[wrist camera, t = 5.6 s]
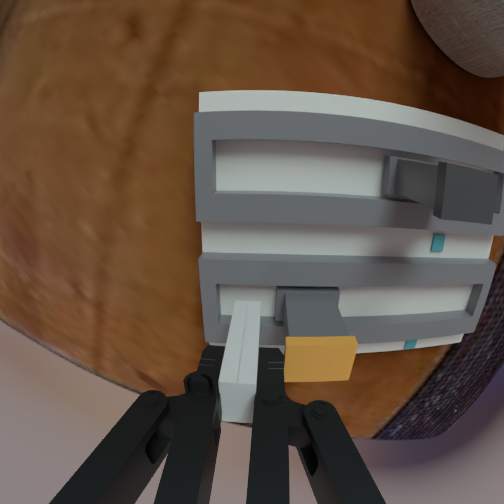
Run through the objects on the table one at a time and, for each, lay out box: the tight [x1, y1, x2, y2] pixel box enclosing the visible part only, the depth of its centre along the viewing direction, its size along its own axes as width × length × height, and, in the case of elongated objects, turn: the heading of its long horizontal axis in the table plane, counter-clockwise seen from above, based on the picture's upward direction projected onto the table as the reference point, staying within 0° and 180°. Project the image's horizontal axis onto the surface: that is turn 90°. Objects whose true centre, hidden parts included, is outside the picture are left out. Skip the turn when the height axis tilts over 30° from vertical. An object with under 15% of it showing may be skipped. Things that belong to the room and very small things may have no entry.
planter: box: [411, 0, 504, 78], centre depth 8 cm, size 11×11×10 cm
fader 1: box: [275, 286, 358, 382], centre depth 16 cm, size 2×4×6 cm, turn 90°
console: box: [194, 90, 504, 355], centre depth 18 cm, size 18×22×3 cm
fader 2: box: [383, 156, 498, 225], centre depth 13 cm, size 2×4×6 cm, turn 89°
